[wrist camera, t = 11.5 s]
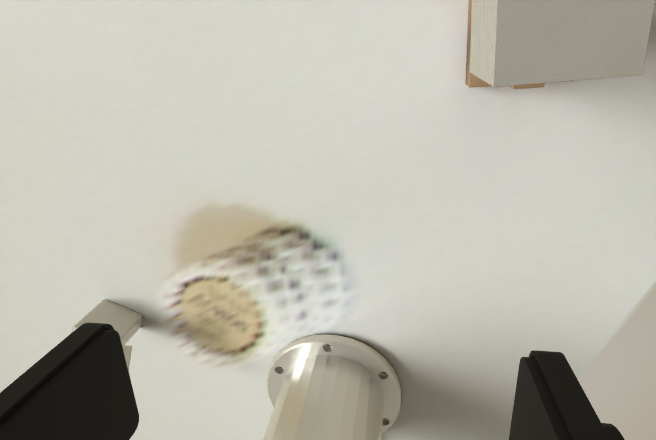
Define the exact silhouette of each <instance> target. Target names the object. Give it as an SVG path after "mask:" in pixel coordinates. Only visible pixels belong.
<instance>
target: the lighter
mask: <svg viewBox="0 0 656 440" xmlns="http://www.w3.org/2000/svg"><path fill="white" fill-rule="evenodd" d="M142 318H143V316H142V314H140V313H137V312H135V311H132V310H130V309H127V308H125V307H123V306H120V305H118V304H115V303H113V302H110V301H108V300H103V301H102V302H101V303H99V304H98V305H97V306H96V307H95V308H94V309H93V310H92V311H90V312H89V313H88V314H87V315H86V316H85V317H84V318H82V319H81V320H80V321H79V322H78V323H77V324H76V325H75V326H73V327H72V332H74V331H75V330H76V329H77V328H78V327H80V326H81V325H82V324H84V323H104V324H110V325H112V326H113V328H114V330H115V331H117V332H118V333H119V335H120V339H121V343H122V347H123V351H124V355H125V360H126V364H127V368H128V370H129V364H130V357H131V350H132V346H124V345H125V344H126V342H127V341H128V340H129V339H130V338H131V337H132V336H133V335H134V334H135V333H136V331H137V330H138V329H139V328H140V327H141V323H142Z"/></svg>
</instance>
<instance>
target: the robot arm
mask: <svg viewBox="0 0 656 440" xmlns="http://www.w3.org/2000/svg"><path fill="white" fill-rule="evenodd" d="M267 389H268V394H269V398H270V400H271V403H272V405H273V407H274V410H273V412H272V415H271V418H270V421H269V424H268V427H267V430H266V432H265V435H264V438H263V440H381V439H382V434H383V433H384V432H385V431H386V430H387V429H389V428H390V427H391V426H392V424H393V423H394V421H395V420H396V419H397V416H398V413H399V411H400V405H401V387H400V383H399V379H398V377H397V375H396V373H395V371H394V369H393V367H392V366H391V365H390V364H389V363H388V361H387V360H386V359H385V358H384V357H383V356H382V355H380V354H379V353H378V352H377V351H376V350H374V349H372V348H371V347H369V346H367V345H366V344H364V343H362V342H359V341H357V340H354V339H352V338H347V337H343V336H339V335H327V334H324V335H312V336H308V337H305V338H301V339H299V340H296V341H294V342H292V343H290V344H289V345H288V346H286V347H285V348H284V349H282V350H281V351H280V353H279V354H278V355H277V356H276V358H275V360H274V362H273V364H272V366H271V368H270V371H269V375H268V381H267ZM138 422H139V413H138V409H137V405H136V401H135V397H134V393H133V388H132V384H131V380H130V376H129V372H128V368H127V364H126V360H125V355H124V351H123V347H122V343H121V339H120V335H119V333H118V332H117V331H115V330H114V328H113V326H112V325H110V324H104V323H84V324H82V325H81V326H80V327H78V328H77V329H76V330H75V331H74V332H72V333H71V334H70V335H69V336H68V337H66V338H65V339H64V340H63V341H62V342H61V343H59V344H58V345H57V346H56V347H55V348H53V349H52V350H51V351H50V352H49V353H47V354H46V355H45V356H44V357H43V358H41V359H40V360H39V361H38V362H37V363H35V364H34V365H33V366H32V367H31V368H29V369H28V370H27V371H26V372H25V373H23V374H22V375H21V376H20V377H19V378H17V379H16V380H15V381H14V382H13V383H12V384H10V385H9V386H8V387H7V388H6V389H4V390H3V391H2V392H1V393H0V440H129V439H130V438H131V436H132V435H133V434H134V432H135V430H136V429H137V426H138ZM509 440H624V438H623V437H622V435H621V433H620V432H619V431H618V429H617V428H616V427H615V426H613V425H612V424H606V423H601V422H600V420H599V418H598V416H597V415H596V413H595V411H594V409H593V407H592V405H591V404H590V402H589V400H588V398H587V396H586V395H585V393H584V391H583V389H582V387H581V386H580V384H579V382H578V380H577V378H576V376H575V374H574V373H573V371H572V369H571V367H570V365H569V363H568V362H567V360H566V358H565V356H564V355H563V354H562V353H561V352H548V351H531V353H530V355H529V357H522V358H521V359H520V364H519V372H518V379H517V386H516V393H515V400H514V407H513V414H512V422H511V429H510V436H509Z"/></svg>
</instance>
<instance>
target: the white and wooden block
mask: <svg viewBox="0 0 656 440" xmlns="http://www.w3.org/2000/svg"><path fill="white" fill-rule="evenodd" d="M654 4H655V0H472V5H471V43H470V73H472V74H473V75H475V76H477V77H478V78H480V79H482V80H483V81H485V82H487V83H488V84H490V85H491V86H493V87H498V86H511V85H523V84H536V83H548V82H561V81H573V80H586V79H598V78H611V77H623V76H636V75H642V74H643V68H644V63H645V57H646V51H647V45H648V39H649V33H650V28H651V22H652V16H653V10H654Z"/></svg>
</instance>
